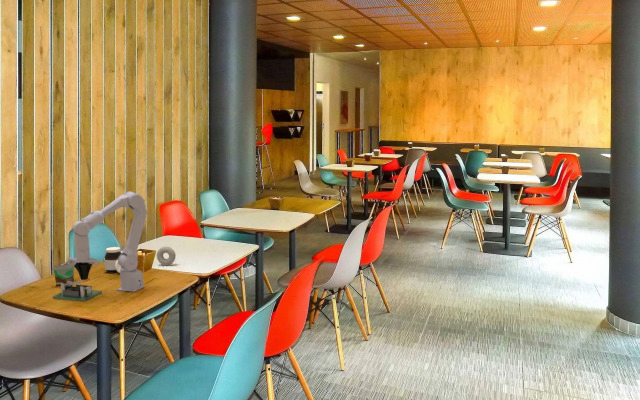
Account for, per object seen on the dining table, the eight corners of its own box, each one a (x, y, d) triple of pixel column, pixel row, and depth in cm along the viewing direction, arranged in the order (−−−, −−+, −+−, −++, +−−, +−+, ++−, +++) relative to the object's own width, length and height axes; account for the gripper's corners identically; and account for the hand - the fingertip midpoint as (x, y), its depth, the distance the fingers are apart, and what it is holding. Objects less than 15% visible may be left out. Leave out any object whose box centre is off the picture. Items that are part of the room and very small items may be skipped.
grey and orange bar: (64, 287, 262) (63, 284, 262) (67, 285, 264) (66, 283, 264) (86, 281, 258) (85, 279, 258) (90, 280, 260) (89, 277, 260)
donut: (176, 264, 313) (176, 245, 312) (174, 266, 310) (174, 247, 309) (158, 264, 314) (157, 245, 313) (156, 265, 311) (155, 247, 309)
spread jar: (110, 268, 307) (109, 246, 305) (132, 268, 307) (131, 246, 305) (101, 274, 295) (99, 251, 293) (124, 274, 295) (122, 251, 293)
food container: (66, 287, 274) (64, 266, 273) (54, 286, 276) (52, 265, 274) (81, 280, 286) (80, 259, 285) (70, 279, 287) (68, 259, 286)
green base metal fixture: (53, 298, 258) (52, 286, 258) (71, 290, 270) (70, 278, 269) (84, 301, 254) (83, 288, 253) (102, 293, 265) (101, 280, 265)
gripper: (61, 250, 256) (64, 280, 258) (90, 252, 252) (92, 283, 254) (72, 246, 263) (74, 276, 265) (101, 248, 259) (103, 278, 261)
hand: (84, 279), depth 260 cm, fingers closed
